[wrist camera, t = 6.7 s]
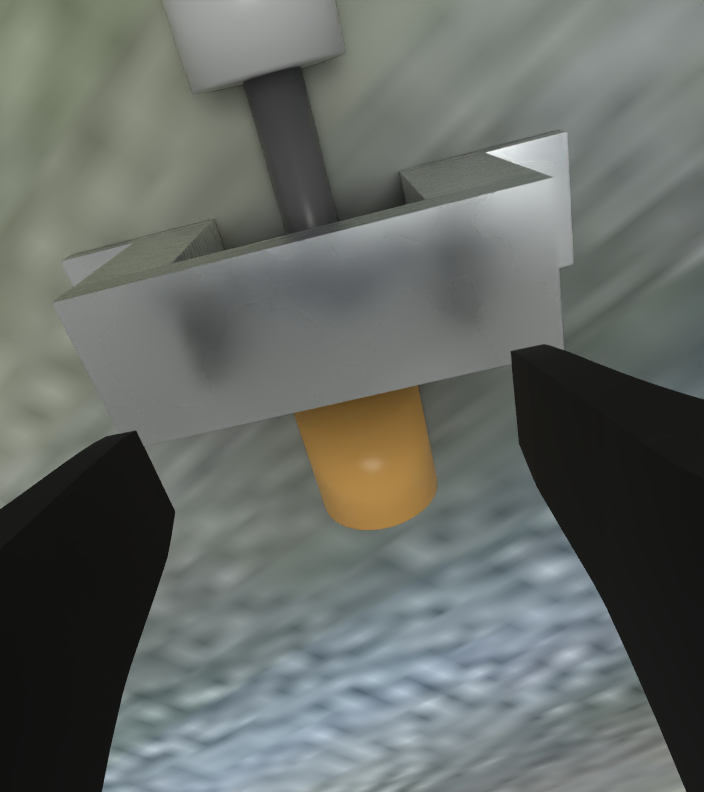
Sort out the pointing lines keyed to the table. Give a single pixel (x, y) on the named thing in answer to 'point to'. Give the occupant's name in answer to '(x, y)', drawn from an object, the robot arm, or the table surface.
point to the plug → (304, 209)
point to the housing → (328, 299)
